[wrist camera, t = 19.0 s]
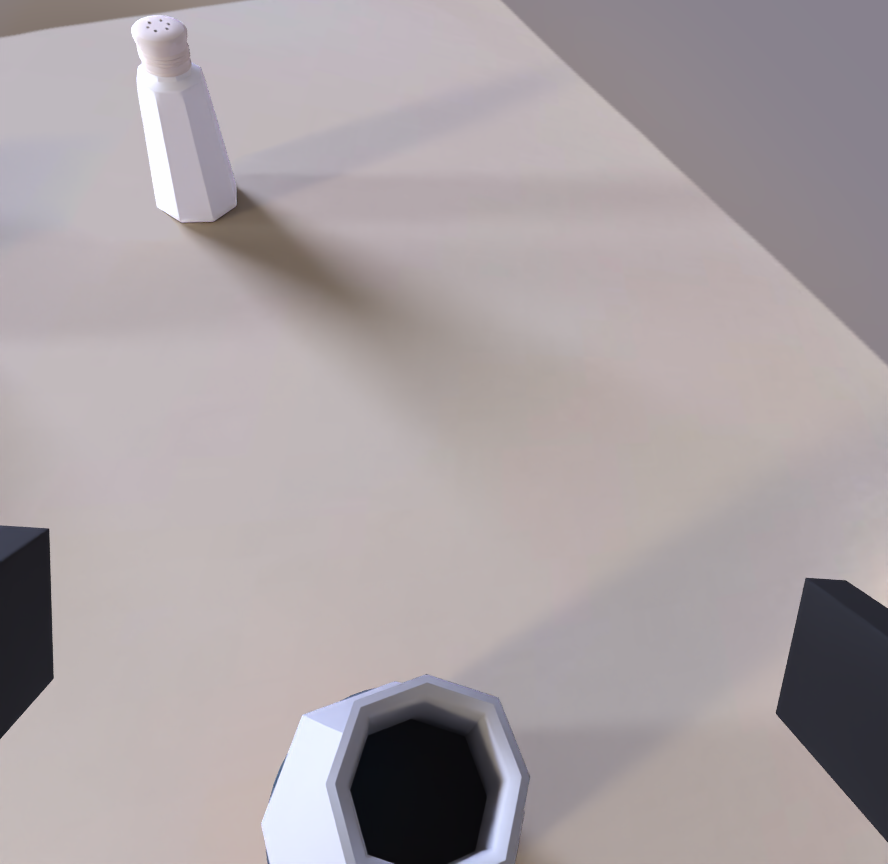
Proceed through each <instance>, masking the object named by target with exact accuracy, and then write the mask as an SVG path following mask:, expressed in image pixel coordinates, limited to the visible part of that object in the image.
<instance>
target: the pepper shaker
mask: <svg viewBox="0 0 888 864" xmlns="http://www.w3.org/2000/svg"><path fill="white" fill-rule="evenodd" d="M131 33H132V36H133V38H134V40H135V42H136V44H137V50H138V53H139V57H140V59H141V60H142V65H140V66H138V72H137V89H138V97H139V103H140V109H141V115H142V121H143V127H144V133H145V139H146V145H147V151H148V157H149V163H150V169H151V175H152V181H153V187H154V192H155V198H156V204H157V207H158V208H159V209H161V210H162V211H164V212H166V213H167V214H169V215H170V216H172V217H173V218H175V219H177V220H178V221H180V222H214V221H215V220H217V219H218V218H220V217H221V216H223V215H224V214H225V213H227V212H228V211H230V210H231V209H233V208H234V207H236V205H237V189H236V182H235V178H234V175H233V171H232V168H231V165H230V161H229V158H228V155H227V151H226V148H225V144H224V141H223V138H222V134H221V131H220V128H219V124H218V121H217V117H216V114H215V111H214V107H213V104H212V100H211V97H210V94H209V90H208V87H207V84H206V80H205V77H204V75H203V72H202V69H201V67H199V66H197V65H196V64H194V63H192V62H191V60H190V51H189V50H190V49H189V45H188V43H187V29H186V27H185V25H184V24H183V23H182V22H180V21H179V20H177V19H176V18H173V17H169V16H163V15H154V16H148V17H144V18H142V19H139V20H138V21H136V22H135V23H134V25H133V27H132V30H131Z"/></svg>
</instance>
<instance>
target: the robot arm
mask: <svg viewBox="0 0 888 864" xmlns="http://www.w3.org/2000/svg"><path fill="white" fill-rule="evenodd" d="M53 679H54V676H53V642H52V608H51V575H50V541H49V529H46V528H31V527H16V526H0V739H1V738H2V736H3V735H4V734H5V733H6V732H7V731H8V730H9V729H10V727H11V726H12V725H13V724H14V723H15V722H16V721H17V719H18V718H19V717H20V716H21V715H22V714H23V713H24V712H25V710H26V709H27V708H28V707H29V706H30V705H31V704H32V702H33V701H34V700H35V699H36V698H37V697H38V696H39V695H40V693H41V692H42V691H43V690H44V689H45V688H46V687H47V685H48V684H49V683H50V682H51V681H52V680H53ZM776 714H777V715H778V717H779V718H780V719H781V720H782V721H783V722H784V723H785V725H786V726H787V727H788V728H789V729H790V730H791V732H792V733H793V734H794V735H795V736H796V737H797V738H798V740H799V741H800V742H801V743H802V744H803V745H804V746H805V748H806V749H807V750H808V751H809V752H810V753H811V755H812V756H813V757H814V758H815V759H816V760H817V761H818V763H819V764H820V765H821V766H822V767H823V768H824V769H825V771H826V772H827V773H828V774H829V775H830V776H831V778H832V779H833V780H834V781H835V782H836V783H837V784H838V786H839V787H840V788H841V789H842V790H843V791H844V792H845V794H846V795H847V796H848V797H849V798H850V799H851V801H852V802H853V803H854V804H855V805H856V806H857V807H858V809H859V810H860V811H861V812H862V813H863V814H864V815H865V817H866V818H867V819H868V820H869V821H870V822H871V824H872V825H873V826H874V827H875V828H876V829H877V830H878V832H879V833H880V834H881V835H882V836H883V837H884V838H885V840H886V841H887V842H888V608H886V607H885V606H883V605H882V604H880V603H879V602H877V601H876V600H874V599H873V598H871V597H870V596H868V595H867V594H865V593H864V592H862V591H861V590H859V589H858V588H856V587H855V586H853V585H852V584H850V583H849V582H847V581H846V580H830V579H815V578H806V579H805V583H804V588H803V593H802V597H801V602H800V606H799V611H798V615H797V620H796V624H795V629H794V633H793V638H792V642H791V647H790V651H789V656H788V660H787V665H786V669H785V674H784V678H783V683H782V687H781V692H780V697H779V701H778V706H777V710H776Z"/></svg>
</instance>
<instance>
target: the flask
mask: <svg viewBox="0 0 888 864" xmlns="http://www.w3.org/2000/svg"><path fill="white" fill-rule="evenodd" d="M529 780H530V776H529V773H528V771H527V768H526V765H525V763H524V760H523V758H522V755H521V753H520V750H519V748H518V745H517V743H516V740H515V738H514V735H513V733H512V730H511V728H510V725H509V722H508V720H507V717H506V715H505V712H504V710H503V707H502V705H501V702H500V700H499V698H498V697H495V696H492V695H489V694H486V693H483V692H480V691H477V690H474V689H471V688H468V687H464V686H461V685H458V684H455V683H452V682H449V681H446V680H443V679H440V678H437V677H434V676H431V675H428V674H426V675H423V676H420V677H418V678H415V679H412V680H409V681H407V682H404V683H400V682H397V681H394V682H391V683H389V684H386V685H383V686H381V687H378V688H375V689H372V690H370V691H367V692H364V693H361V694H359V695H356V696H353V697H350V698H348V699H345V700H342V701H339V702H337V703H334V704H331V705H329V706H326V707H323V708H320V709H318V710H315V711H312V712H309V713H307V714H304V715H302V718H301V720H300V723H299V726H298V728H297V731H296V733H295V736H294V739H293V741H292V744H291V747H290V749H289V752H288V754H287V757H286V760H285V762H284V765H283V768H282V770H281V773H280V776H279V778H278V781H277V783H276V786H275V789H274V791H273V794H272V797H271V799H270V802H269V804H268V807H267V810H266V812H265V815H264V818H263V820H262V823H261V825H262V830H263V835H264V839H265V844H266V849H267V854H268V858H269V863H270V864H515V861H516V856H517V850H518V845H519V840H520V835H521V829H522V824H523V819H524V813H525V812H524V806H525V801H526V795H527V790H528V785H529Z"/></svg>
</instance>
